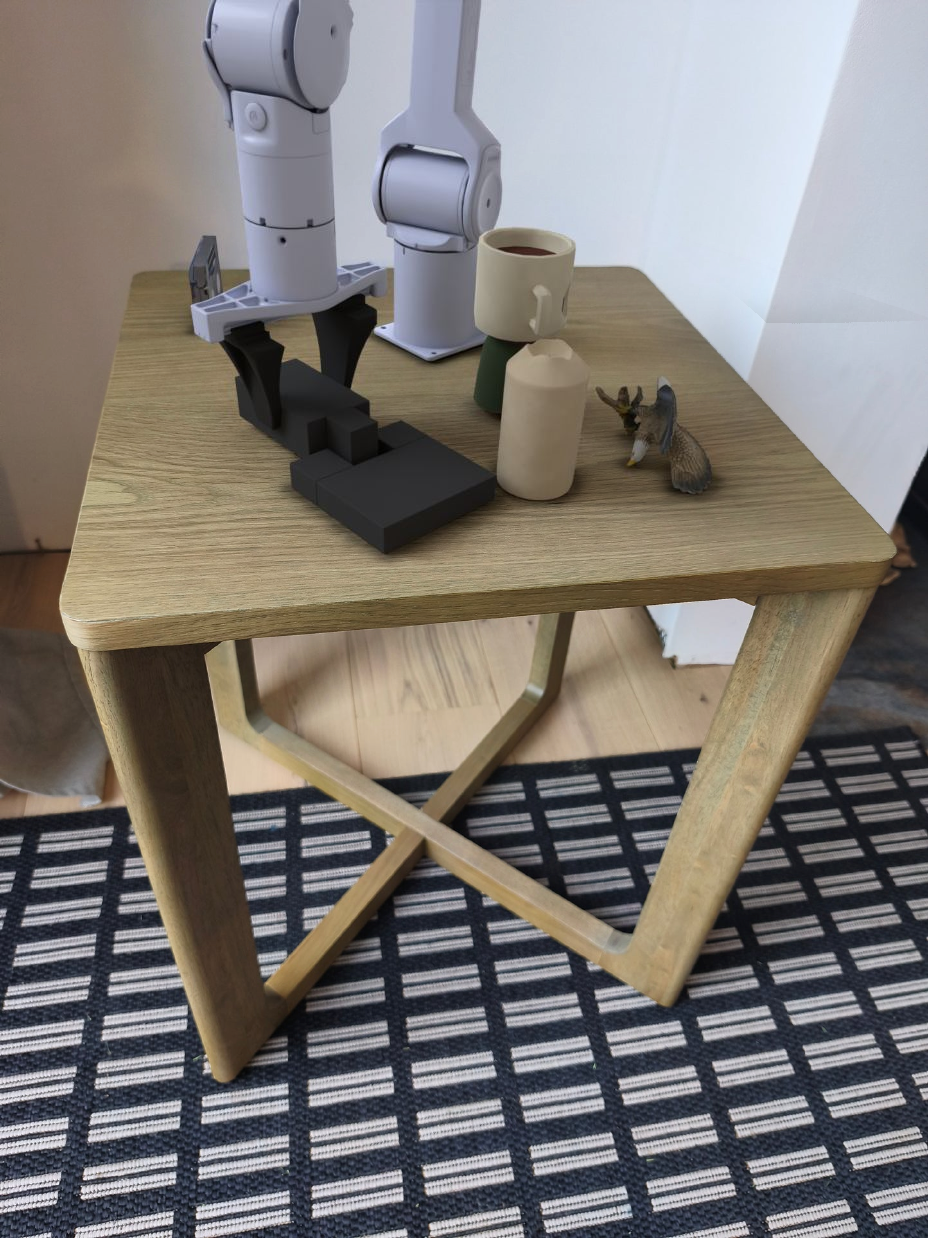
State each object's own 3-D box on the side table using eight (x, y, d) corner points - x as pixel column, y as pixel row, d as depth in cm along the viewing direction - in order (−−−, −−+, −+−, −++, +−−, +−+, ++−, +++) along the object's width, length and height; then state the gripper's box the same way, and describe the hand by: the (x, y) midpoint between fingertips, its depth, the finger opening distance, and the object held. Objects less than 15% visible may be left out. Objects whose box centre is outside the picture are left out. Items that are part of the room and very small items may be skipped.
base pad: (384, 554, 54) (384, 528, 53) (291, 488, 59) (289, 462, 58) (495, 499, 59) (497, 474, 58) (401, 443, 65) (401, 419, 63)
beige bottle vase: (567, 506, 59) (589, 370, 53) (489, 494, 60) (501, 358, 53) (575, 467, 63) (597, 335, 57) (502, 455, 64) (515, 325, 58)
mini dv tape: (208, 298, 84) (199, 234, 80) (223, 299, 84) (215, 235, 80) (197, 332, 78) (186, 265, 74) (214, 332, 78) (204, 265, 74)
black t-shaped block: (334, 480, 59) (332, 439, 57) (239, 416, 65) (234, 376, 63) (395, 455, 62) (395, 414, 60) (299, 396, 68) (296, 357, 66)
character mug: (574, 435, 67) (600, 265, 59) (486, 442, 65) (501, 268, 57) (532, 374, 75) (550, 217, 66) (453, 379, 73) (461, 218, 65)
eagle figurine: (569, 436, 64) (649, 473, 58) (614, 347, 63) (701, 374, 56) (632, 470, 69) (712, 507, 63) (675, 388, 68) (762, 417, 61)
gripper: (341, 184, 60) (348, 366, 69) (153, 218, 52) (187, 419, 61) (407, 209, 57) (405, 398, 66) (215, 249, 49) (242, 458, 58)
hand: (304, 411), depth 63 cm, fingers closed on black t-shaped block, 5 cm apart
